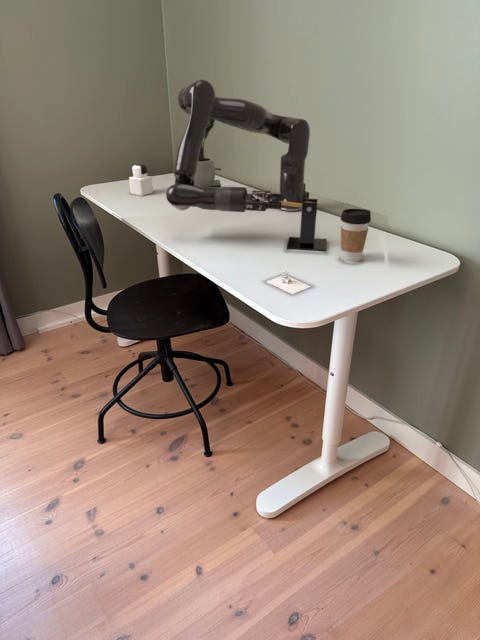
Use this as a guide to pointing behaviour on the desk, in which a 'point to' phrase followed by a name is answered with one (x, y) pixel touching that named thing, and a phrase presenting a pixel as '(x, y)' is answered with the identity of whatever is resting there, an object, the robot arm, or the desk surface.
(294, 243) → the black lever stand
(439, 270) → the desk surface
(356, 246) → the coffee cup
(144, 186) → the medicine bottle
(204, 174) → the potted plant
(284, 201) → the black ball knob lever
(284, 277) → the adhesive hook
